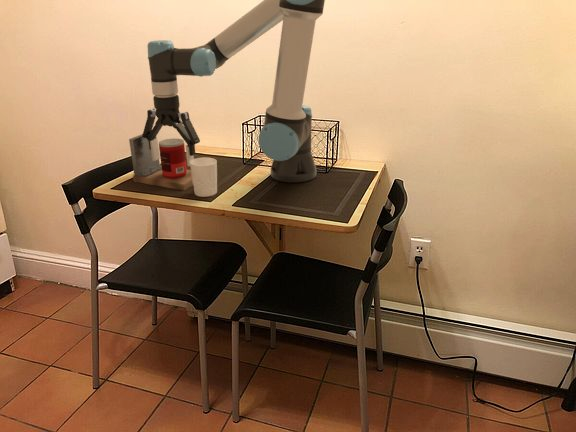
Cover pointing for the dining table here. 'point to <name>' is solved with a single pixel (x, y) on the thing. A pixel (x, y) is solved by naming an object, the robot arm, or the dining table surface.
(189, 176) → the shelf board
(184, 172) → the canned food
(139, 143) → the bookend
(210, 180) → the white cup
